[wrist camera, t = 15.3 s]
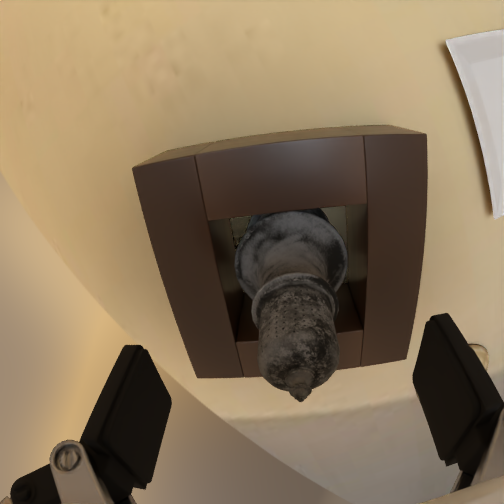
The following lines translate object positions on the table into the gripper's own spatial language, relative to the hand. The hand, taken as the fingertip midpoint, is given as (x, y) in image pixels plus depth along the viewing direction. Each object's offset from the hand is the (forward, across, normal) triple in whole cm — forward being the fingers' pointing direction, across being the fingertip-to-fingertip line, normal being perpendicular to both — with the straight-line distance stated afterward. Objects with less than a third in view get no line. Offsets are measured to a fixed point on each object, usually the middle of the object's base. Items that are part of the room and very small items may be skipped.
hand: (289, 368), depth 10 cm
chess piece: (+11, 0, 0) cm, 11 cm away
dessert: (+11, -19, -8) cm, 23 cm away
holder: (+11, -1, 0) cm, 11 cm away
